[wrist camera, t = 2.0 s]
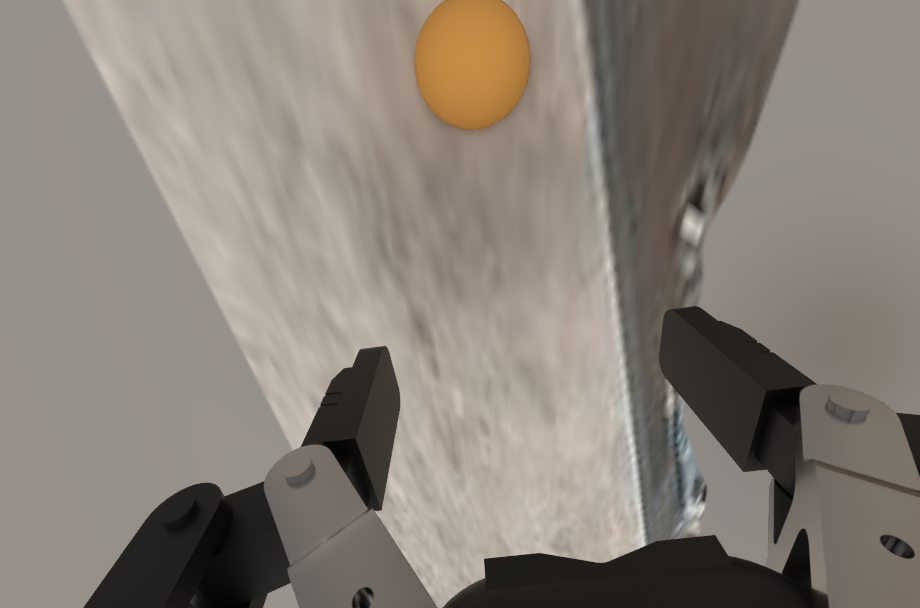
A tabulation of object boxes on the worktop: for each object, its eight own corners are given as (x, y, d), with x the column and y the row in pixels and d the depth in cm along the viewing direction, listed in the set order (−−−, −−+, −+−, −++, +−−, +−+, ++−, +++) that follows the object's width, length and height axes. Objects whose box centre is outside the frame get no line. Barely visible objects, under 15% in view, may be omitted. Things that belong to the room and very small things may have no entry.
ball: (409, 18, 21) (395, -14, 16) (516, 0, 21) (538, -39, 15) (429, 134, 24) (422, 140, 18) (523, 119, 24) (544, 121, 18)
